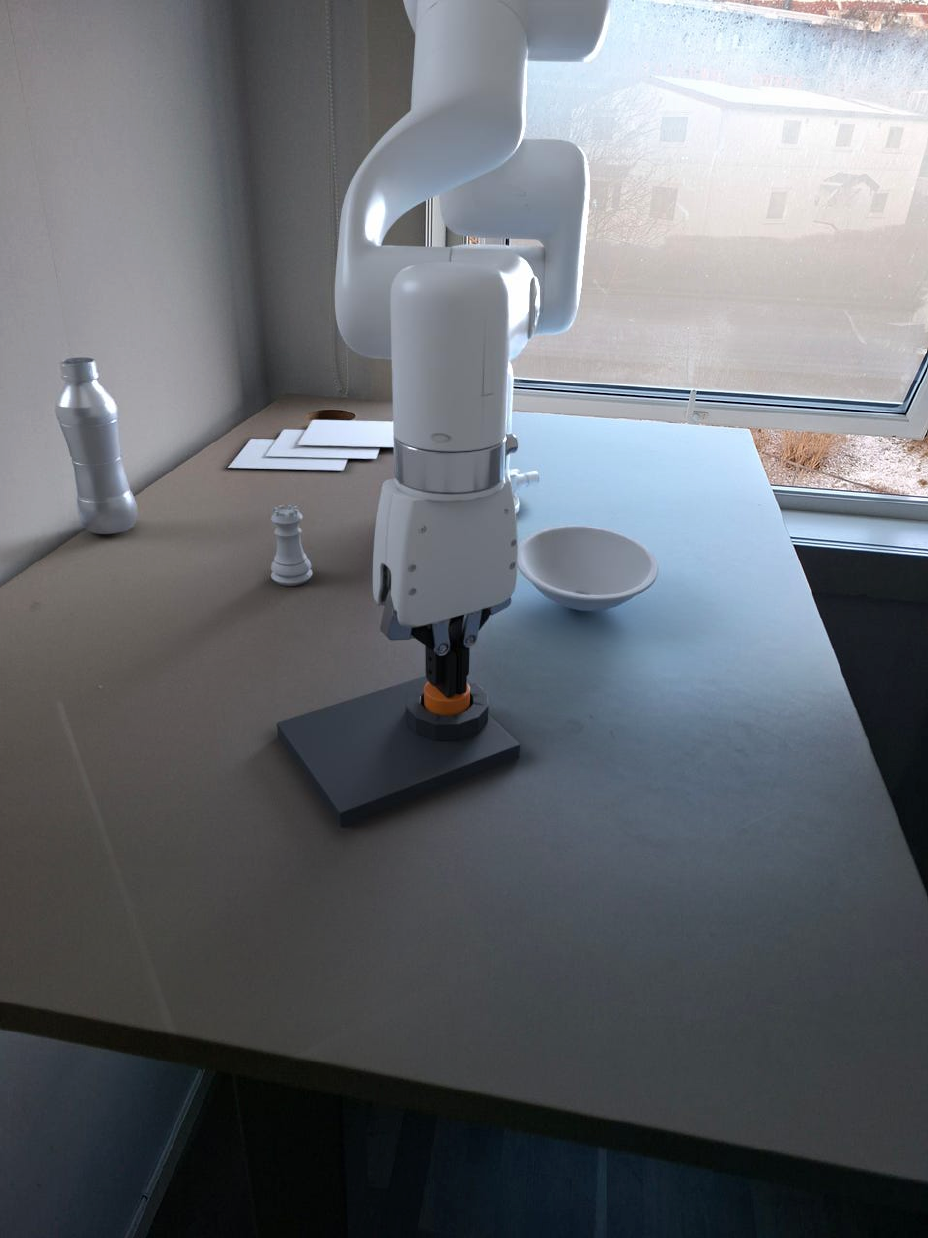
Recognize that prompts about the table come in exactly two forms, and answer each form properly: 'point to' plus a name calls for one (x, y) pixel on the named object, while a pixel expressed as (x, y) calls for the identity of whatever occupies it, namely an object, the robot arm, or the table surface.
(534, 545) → the dish
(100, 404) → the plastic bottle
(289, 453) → the paper stack
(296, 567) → the rook chess piece
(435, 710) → the button
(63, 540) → the table surface
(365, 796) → the scale
